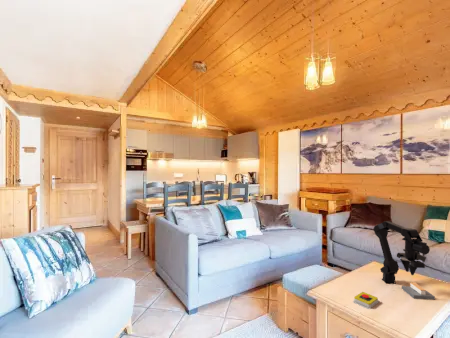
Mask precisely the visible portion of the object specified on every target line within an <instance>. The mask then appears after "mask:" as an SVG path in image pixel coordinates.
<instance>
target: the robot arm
mask: <svg viewBox="0 0 450 338" xmlns="http://www.w3.org/2000/svg"><path fill="white" fill-rule="evenodd" d="M389 230H392V231H395V232H397V233H399V234H400V235H401V236H402V237H403V238H402V239H401V240H402V241H404V248H402V250H403V252H397V253H396V257H397V258H398V259H399V260H400V261H401V264H402V266H403V268H404V270H405V272H407V273H410V275H411V276H414V274H415V273H416V271H417V269H418V268H419V269H425V268H426V264H425V262H426V260H427V257H426V256H424V255H428V254H429V253H430V250H431V248H430V246H429V245H428V243H427V242H424V241H423V238H422V237H421V235H420V234H419V232H418V230H417V229H415V228H409V227H405V226H402V225H399V224H397V223H395V222H392V221H390V220H386V221H383V222H381V223H379V224H377V225H374V227H373V232H374V234H375V236H376V237H377V238H378V241H379V243H380V248H381V251H382V254H383V257H384V258H383V262H382V263H383V266H382V267H381V268H380V272H381V274H382V278H381V280H382V281H383V282H384V283H386V284H394V285H396V275H397V274H398V272H399V269H400V268H399V267H400V266H399V264H398V260H394V258H393V255H392V252H391V248H390V244H389V241H388V235H389Z"/></svg>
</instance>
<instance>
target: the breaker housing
mask: <svg viewBox="0 0 450 338" xmlns="http://www.w3.org/2000/svg"><path fill="white" fill-rule="evenodd" d="M410 286H411V285H409V286H408V285H407V286H406V285H402V286H401V290H402V289H403V291H404V292H405V293H406V294H408V295H409V296H410V297H411V298H412V299H413V300H414V299H415V300H416V299H417V300H431V301H432V300H433V301H434V300H435V299H436V297H435V295H434V294H432V293H430V292H429V291H428V290H427V289H425V295H421V294H420V293H418V292H417V291H415V290H414V289H413V288H411V287H410Z"/></svg>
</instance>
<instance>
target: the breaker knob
mask: <svg viewBox="0 0 450 338" xmlns="http://www.w3.org/2000/svg"><path fill="white" fill-rule="evenodd" d="M409 286H410V287H411V288H413V289H414V290H415V291H417V292H418V293H420V294H421V295H425V290H426V289H425V288H424V287H422V286H421V285H420V284H417V283H416V282H414V281H413V282H412V281H411V282H410V285H409Z"/></svg>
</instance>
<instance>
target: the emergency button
mask: <svg viewBox="0 0 450 338" xmlns="http://www.w3.org/2000/svg"><path fill="white" fill-rule="evenodd" d="M379 302H380V300H379V299H378V297H377V296H375V295H372V294H370V293H368V292H364V291H362V292H360V293H358V294H356V295H355V296H354V299H353V301H352V303H353V304H356V305H357V304H358V306H360V307H362V308H363V309H366V310H370V309H371V308H373V307H374V306H376V305H377V304H378V303H379Z"/></svg>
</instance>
